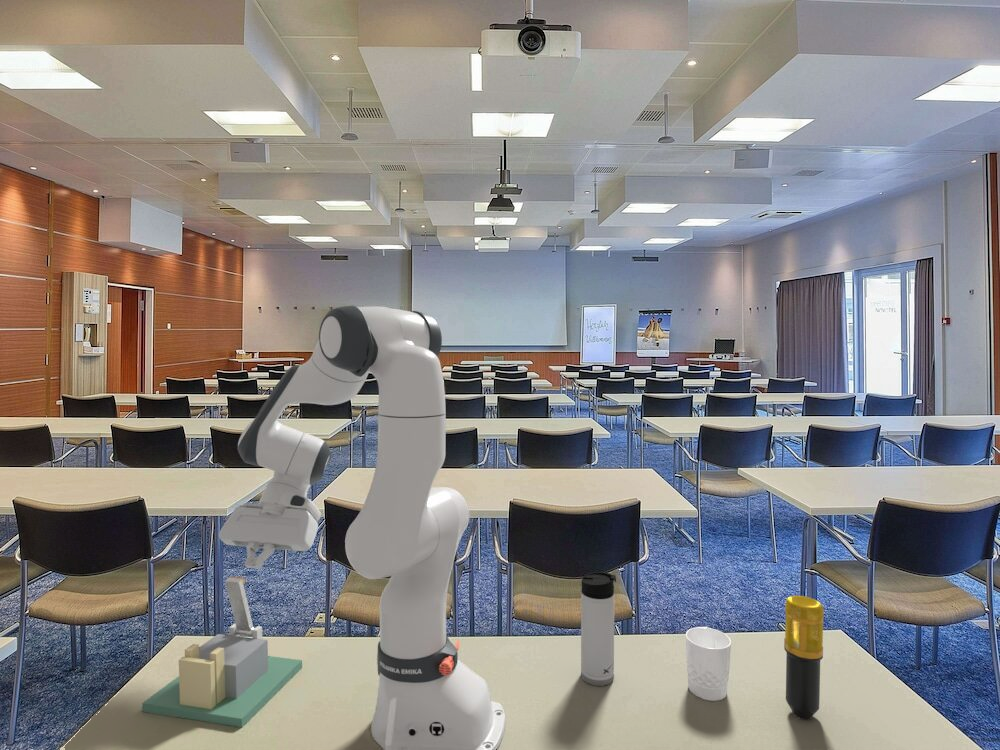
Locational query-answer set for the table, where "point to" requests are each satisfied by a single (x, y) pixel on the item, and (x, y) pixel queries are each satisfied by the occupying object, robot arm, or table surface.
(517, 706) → the table surface
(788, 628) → the microphone
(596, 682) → the travel mug
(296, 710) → the table surface
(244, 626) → the retention strap
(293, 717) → the table surface
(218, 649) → the base
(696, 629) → the white cup
